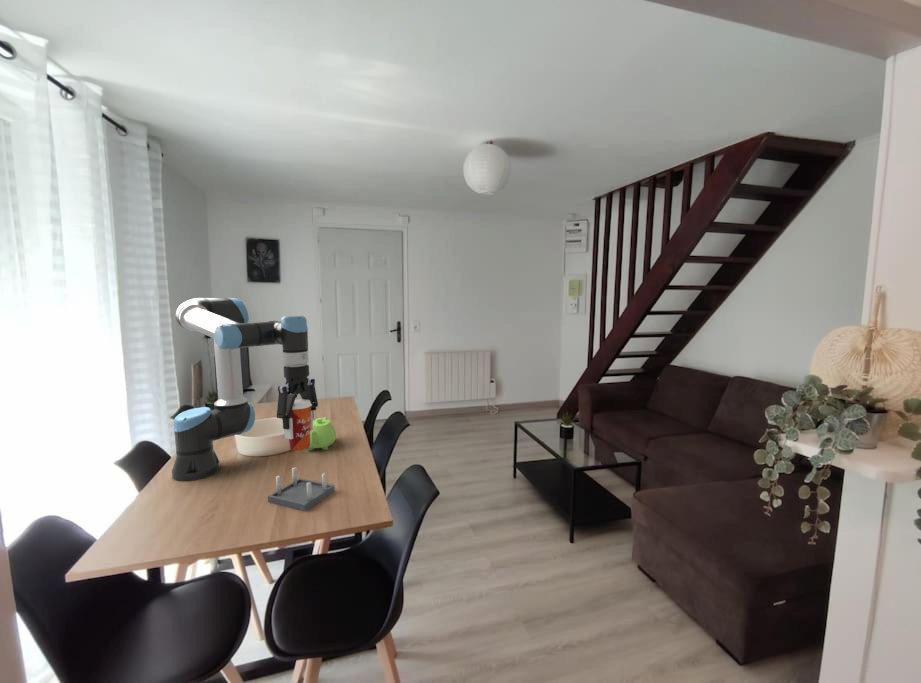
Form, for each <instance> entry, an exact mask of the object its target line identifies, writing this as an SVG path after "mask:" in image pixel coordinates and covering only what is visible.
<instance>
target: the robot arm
mask: <svg viewBox="0 0 921 683" xmlns="http://www.w3.org/2000/svg"><path fill="white" fill-rule="evenodd" d="M248 312H249V311H248V309H247V307H246V305H245V304H244V302H243V301H242V300H240V299H239V298H235V297H195V298H190V299H187V300H186V301H183V302H182V303H180V304H179V306H178V307H177V309H176V310H175V314H174V315H175V320H176V322H177V324H178V325H179V326H180V327H181V328H183V329H184V330H187V331H189V332H199V333H201V334H203V335H205V336H207V337H210V338H212V339H213V346H214V349H213V350H214V361H215V362H214V363H215V375H216V386H217V387H216V388H217V400H216V401H215V402H214V403H213V408H214V409H211V408H210V407H207V406H203V407H202V406H201V407H195V408H194V407H193V408H190V409H187V410H184V411H182V412H181V413H179V414H177V415H176V416H175V418H174V420H173V432H174V442H175V452H176V453H175V454H176V456H175V459H174V463H173V466H172V470H171V477H172V479H173V480H174V481H180V482H181V481H182V482H184V481H186V482H187V481H188V482H189V481H195V480H200V479H204V478H207V477H210V476H212V475H214V474H216V473H217V472H218V471H219V470H220V469H221V463H220V462H221V461H220V460H219V457H218V456H217V453H216V452H215V448H214V442H215V441H217V440H222V439H225V438H229V437H233V436H238V435H239V436H240V435H241V434H243V433H244V434H245V433H247V432H249V431H251V430H252V428H253V427H254V424H255V422H256V421H255V420H256V412H255V409H254V406H253V404H252V403H250V402H248V401H249V400H248V398H246V397H245V396H244V390H243V377H242V376H243V375H242V362H241V359H242V358H241V349H243V348H245V349H246V348H252V347H262V346H263V347H264V346H273V345H275V346H276V345H282V364H283V365H284V366H283V376H284V379H285V384H284V385H278V387H277V392H278V396H277V397H278V398H277V399H278V400H277V407H276V409H277V410H276V418H277V419H281V420H282V428H283V430H284V438H285V439H286V440H289V439H293V422H292V418H290V416H291V412H292V408H293V405H294V401H295V400H296V399H297V398H298V395H300V397H301V398H300V399H306V400H310V402H311V404H312V406H311V422H310V430H311V431H312V430H313V421H314V415H315V414H314V411H316V410H317V407H318V406H319V402H318V396H317V390H316V386H315V385H316V380H315V378H309V376H310V366H309V363H310V362H309V339H308V338H309V336H308V334H309V333H308V330H309V328H308V322H307V321H308V320H307V318H306V316H304V315H287V316H282V317H281V318H280V321H279V320H269V321H259V322H249V313H248ZM286 414H287V415H286Z"/></svg>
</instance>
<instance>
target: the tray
mask: <svg viewBox="0 0 921 683" xmlns="http://www.w3.org/2000/svg"><path fill="white" fill-rule="evenodd" d="M297 471H298V470H297V467H296V466H295V467H291V476H292V482H290V483H288V484H286V485H285V486H283V487H282V480H281V475H276V476H275V486H276V487H275V488H276V489H275V490H276V491H274V492H272V493H270V494H269V495H267V503H270V504H275V505H279V506H282V507H287V508H291V509H295V510H300V511H303V512H306V511H307V510H309V509H310V508H311V507H313V506H314V505H316V504H318V503H319V502H321V501H322V500H324V499H325V498H327V497H328V496H329V495H331V494H333V493H334V492H336V491H335V487H336V486H335V485H334V484H329V483H328V482H327V473H322V474H321V482H320V481H316V480H310V479H306V478H302V477H300V478H298V473H297Z"/></svg>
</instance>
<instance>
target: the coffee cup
mask: <svg viewBox="0 0 921 683" xmlns="http://www.w3.org/2000/svg"><path fill="white" fill-rule="evenodd" d="M311 406H312V404H311V402H310V400H306V399H302V398H298V399H297V398H295V401H294V405H293V408H292V412H291V416H290V418H292V422H293V439H288V441H289V448H290V449H291V450H293V451H302V450H306V449H309V448H308V447H309V446H310V422H311ZM286 415H287V414H286Z"/></svg>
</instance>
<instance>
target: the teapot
mask: <svg viewBox="0 0 921 683" xmlns="http://www.w3.org/2000/svg"><path fill="white" fill-rule="evenodd" d="M336 439H337V433H336V429H335V427H334V425H333V423H332V422H331V420H329V419H328V417H327V416H326V417H317V418H315V420H314V419H313V430H312V431H311V430H310V446H309V447H308V448H307V451H314V450H315V449H322V451H327V450H329V447H330V446H331V445H333V444H334V442H335V441H336Z"/></svg>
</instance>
